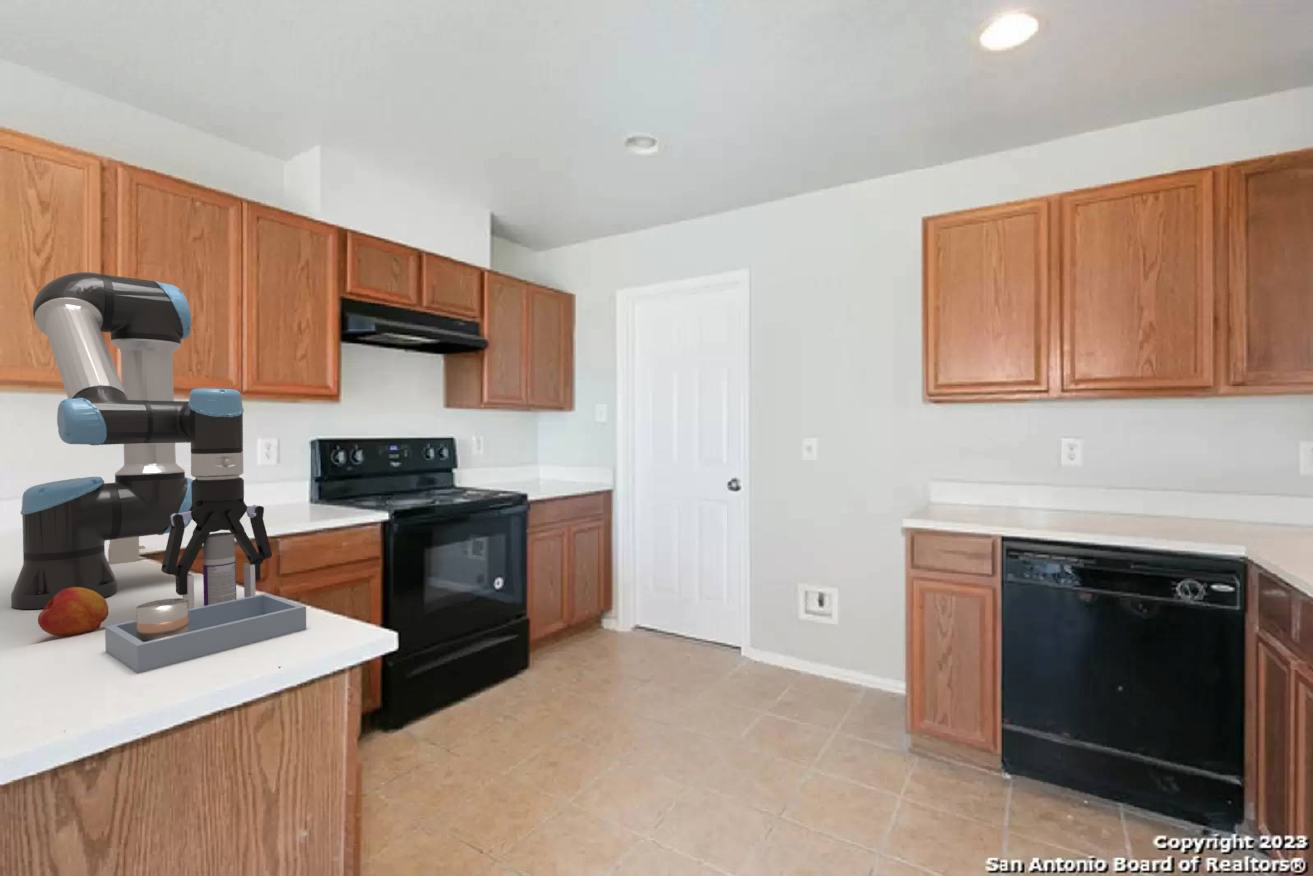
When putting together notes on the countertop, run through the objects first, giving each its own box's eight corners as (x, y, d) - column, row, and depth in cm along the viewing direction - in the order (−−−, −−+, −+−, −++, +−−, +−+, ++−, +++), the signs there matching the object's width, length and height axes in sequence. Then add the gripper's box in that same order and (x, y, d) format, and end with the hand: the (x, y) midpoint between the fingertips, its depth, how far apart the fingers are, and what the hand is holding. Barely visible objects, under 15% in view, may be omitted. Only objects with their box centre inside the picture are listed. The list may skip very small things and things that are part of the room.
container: (208, 617, 111) (206, 533, 111) (239, 614, 113) (237, 531, 113) (200, 625, 107) (199, 537, 107) (233, 621, 109) (231, 535, 108)
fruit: (49, 633, 103) (48, 584, 103) (113, 625, 107) (112, 578, 107) (32, 647, 97) (31, 596, 96) (101, 638, 101) (100, 589, 100)
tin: (131, 653, 92) (130, 605, 92) (181, 641, 97) (180, 596, 97) (145, 662, 88) (144, 612, 88) (196, 649, 93) (195, 602, 93)
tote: (105, 656, 93) (105, 626, 93) (267, 618, 111) (266, 593, 111) (137, 679, 85) (137, 645, 84) (306, 633, 103) (306, 606, 102)
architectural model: (108, 564, 155) (107, 534, 155) (143, 560, 160) (143, 531, 160) (109, 566, 153) (108, 536, 153) (145, 562, 158) (145, 532, 158)
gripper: (149, 483, 98) (152, 626, 99) (292, 474, 116) (294, 595, 117) (133, 481, 103) (136, 618, 103) (274, 472, 120) (276, 589, 121)
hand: (220, 606), depth 110 cm, fingers open, 9 cm apart
